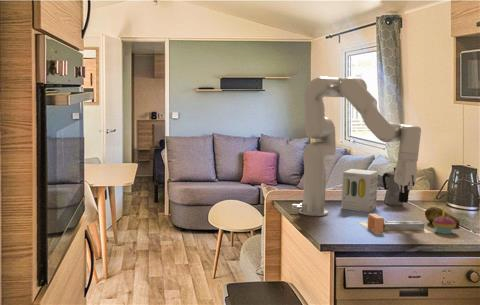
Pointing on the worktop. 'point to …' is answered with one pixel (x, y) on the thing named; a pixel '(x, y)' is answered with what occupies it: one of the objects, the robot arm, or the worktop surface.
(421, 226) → the fixed jaw
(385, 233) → the board
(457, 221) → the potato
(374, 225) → the lock collar
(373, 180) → the supplement box
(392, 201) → the coffeepot
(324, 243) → the worktop surface
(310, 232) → the worktop surface
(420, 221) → the jaw
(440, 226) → the cupcake
